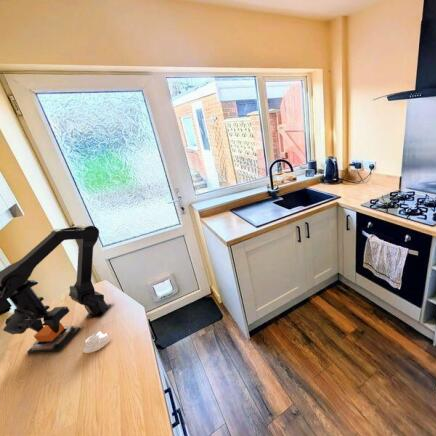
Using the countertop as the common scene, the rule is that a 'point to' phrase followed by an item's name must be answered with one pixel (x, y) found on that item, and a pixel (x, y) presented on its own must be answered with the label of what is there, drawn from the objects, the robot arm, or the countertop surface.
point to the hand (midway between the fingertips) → (50, 332)
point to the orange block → (48, 333)
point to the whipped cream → (95, 342)
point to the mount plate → (55, 341)
